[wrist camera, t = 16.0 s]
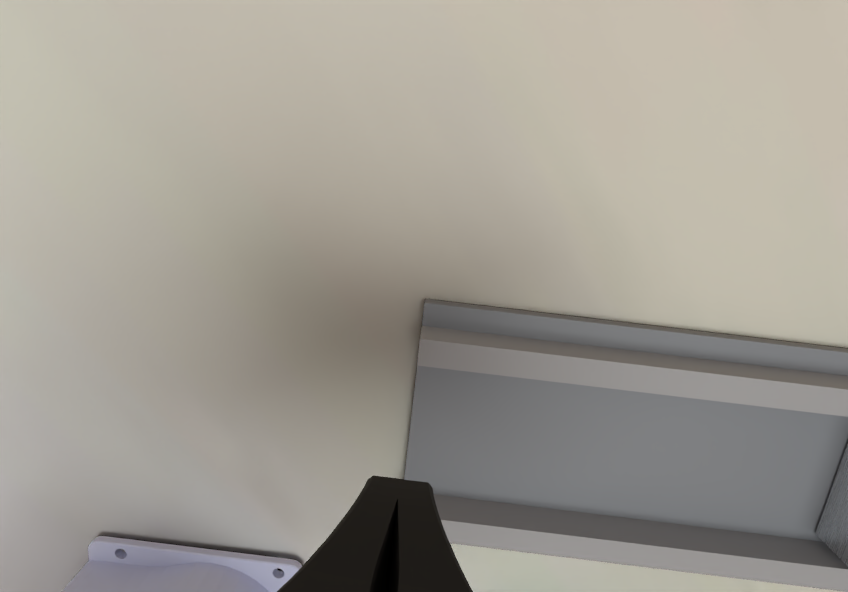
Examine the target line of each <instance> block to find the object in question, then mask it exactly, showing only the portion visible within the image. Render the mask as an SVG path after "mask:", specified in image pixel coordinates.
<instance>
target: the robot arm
mask: <svg viewBox="0 0 848 592" xmlns="http://www.w3.org/2000/svg"><path fill="white" fill-rule="evenodd" d="M122 549H123V550H124V551H125V552H124V551H123V550H122ZM88 558H89V561H88V562H87V563H86V564H85V565H84V566H83V567H82V569H81V570H80V571H79V572H78V573H77V574H76V575H75V576H74V578H73V579H72V580H71V581H70V582H69V583H68V584H67V585H66V586H65V588H64V589H63V590H62V591H61V592H473V591H472V590H471V588H470V586H469V584H468V582H467V580H466V578H465V576H464V574H463V572H462V570H461V568H460V566H459V563H458V561H457V559H456V557H455V555H454V552H453V550H452V547H451V545H450V543H449V540H448V538H447V535H446V533H445V530H444V528H443V525H442V522H441V519H440V516H439V513H438V510H437V506H436V503H435V499H434V494H433V488H432V486H431V485H430V484H429V483H428V482H420V481H412V480H404V479H396V478H388V477H379V476H372V477H371V478H370V479H368V480H367V482H366V485H365V486H364V488H363V490H362V492H361V493H360V495H359V496H358V498H357V500H356V501H355V503H354V504H353V505H352V507H351V508H350V510H349V511H348V513H347V514H346V515H345V517H344V518H343V519H342V520H341V522H340V523H339V524H338V526H337V527H336V528H335V529H334V531H333V532H332V533H331V535H330V536H329V537H328V538H327V539H326V541H325V542H324V543H323V544H322V545H321V546H320V547H319V548H318V550H317V551H316V552H315V553H314V554H313V555H312V556H311V557H310V559H309V560H308V561H307V562H306V563H305V564H304V565H303V566H302V565H301V563H299V562H298V561H296V560H293V559H285V558H277V557H269V556H261V555H253V554H245V553H237V552H229V551H221V550H213V549H204V548H196V547H188V546H180V545H172V544H164V543H156V542H148V541H140V540H132V539H123V538H115V537H107V536H98V537H96V538H95V539H94V540H93V541H92V542H91V543H90V544H89V545H88ZM277 568H279V569H282V570H283V571H278V570H277Z"/></svg>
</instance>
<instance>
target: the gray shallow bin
mask: <svg viewBox="0 0 848 592" xmlns="http://www.w3.org/2000/svg"><path fill="white" fill-rule="evenodd" d="M847 444H848V348H839V347H831V346H822V345H814V344H805V343H797V342H788V341H780V340H771V339H763V338H754V337H746V336H737V335H729V334H720V333H712V332H703V331H695V330H686V329H678V328H669V327H661V326H653V325H644V324H636V323H627V322H619V321H610V320H602V319H593V318H585V317H576V316H568V315H559V314H551V313H542V312H534V311H525V310H517V309H508V308H500V307H491V306H483V305H474V304H466V303H457V302H449V301H440V300H432V299H425V303H424V311H423V320H422V328H421V335H420V343H419V352H418V360H417V372H416V381H415V389H414V398H413V407H412V415H411V424H410V433H409V441H408V450H407V458H406V467H405V476H404V480H412V481H420V482H428V483H429V484H430V485H431V486H432V488H433V494H434V499H435V503H436V506H437V510H438V513H439V516H440V519H441V522H442V525H443V528H444V530H445V533H446V535H447V538H448V540H449V543H453V544H461V545H470V546H478V547H486V548H494V549H502V550H510V551H519V552H527V553H535V554H543V555H551V556H559V557H567V558H576V559H584V560H592V561H600V562H608V563H616V564H624V565H633V566H641V567H649V568H657V569H665V570H673V571H681V572H690V573H698V574H706V575H714V576H722V577H730V578H739V579H747V580H755V581H763V582H771V583H779V584H787V585H796V586H804V587H812V588H820V589H828V590H836V591H844V592H848V566H847V565H846V564H845V563H844V562H843V561H842V560H841V559H840V558H839V557H838V556H837V555H836V554H835V553H834V552H833V551H832V550H831V549H830V548H829V547H828V546H827V545H826V544H825V543H824V542H823V541H822V540H821V539H820V538H819V537H818V536H817V535H816V534H815V533H816V530H817V527H818V525H819V522H820V519H821V516H822V513H823V511H824V508H825V505H826V502H827V500H828V497H829V494H830V491H831V489H832V486H833V483H834V480H835V478H836V475H837V472H838V469H839V466H840V464H841V461H842V458H843V455H844V453H845V450H846V447H847Z"/></svg>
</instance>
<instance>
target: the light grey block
mask: <svg viewBox="0 0 848 592" xmlns="http://www.w3.org/2000/svg"><path fill="white" fill-rule="evenodd" d="M815 534H816V535H817V536H818V537H819V538H820V539H821V540H822V541H823V542H824V543H825V544H826V545H827V546H828V547H829V548H830V549H831V550H832V551H833V552H834V553H835V554H836V555H837V556H838V557H839V558H840V559H841V560H842V561H843V562H844V563H845V564H846V565H847V566H848V444H847V447H846V450H845V453H844V455H843V458H842V461H841V464H840V466H839V469H838V472H837V475H836V478H835V480H834V483H833V486H832V489H831V491H830V494H829V497H828V500H827V502H826V505H825V508H824V511H823V513H822V516H821V519H820V522H819V525H818V527H817V530H816V533H815Z"/></svg>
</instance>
